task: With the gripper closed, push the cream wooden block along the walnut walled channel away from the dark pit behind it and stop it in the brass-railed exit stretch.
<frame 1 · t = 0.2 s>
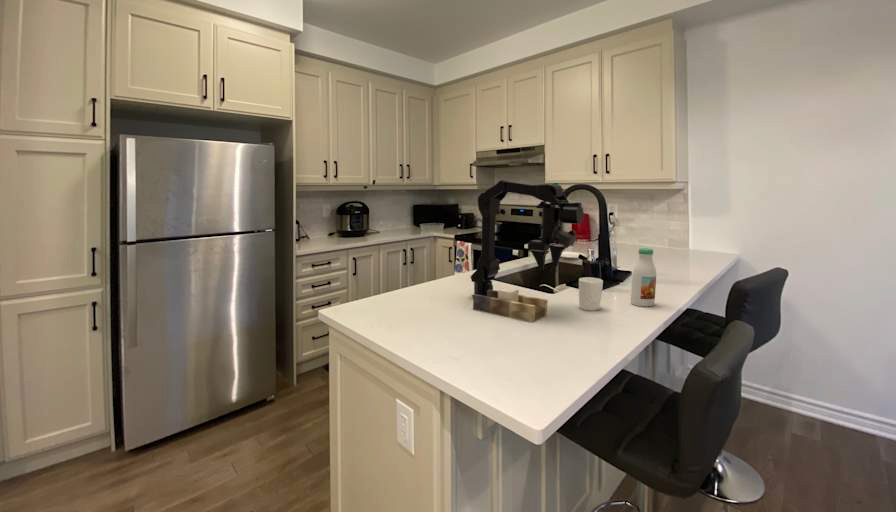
hand: (548, 268, 143), 14 cm above the counter, tool pointing down, fingers open, 9 cm apart
cream block: (508, 304, 142), point 2 cm above the counter, touching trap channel
milk bottle: (642, 304, 150), on the counter
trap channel: (509, 311, 142), on the counter
white cup: (589, 308, 146), on the counter
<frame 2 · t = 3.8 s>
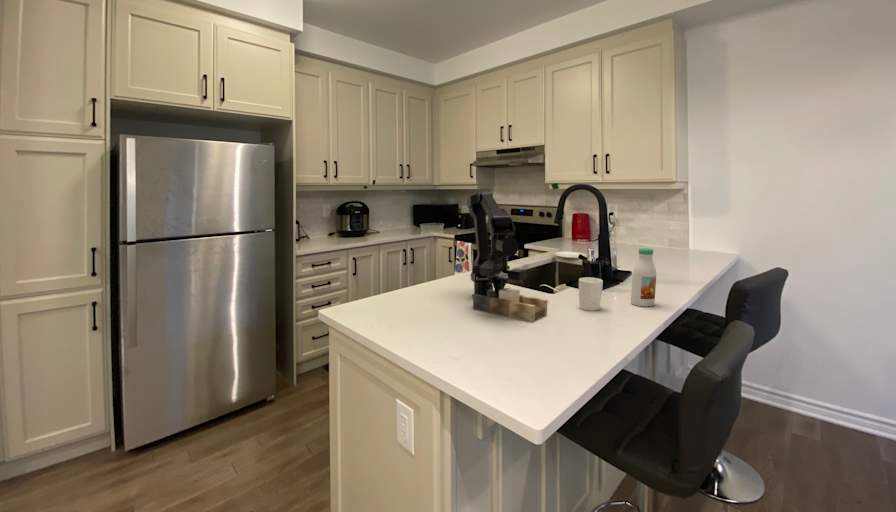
hand: (498, 296, 144), 5 cm above the counter, tool pointing down, fingers closed
cream block: (509, 304, 142), point 3 cm above the counter, touching gripper
everything else where it was.
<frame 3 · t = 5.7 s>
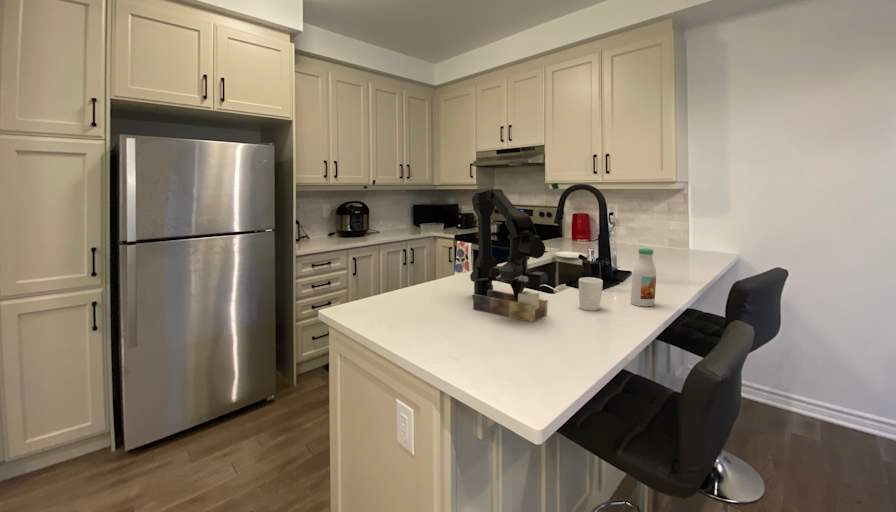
hand: (517, 299, 140), 5 cm above the counter, tool pointing down, fingers closed
cream block: (528, 308, 138), point 2 cm above the counter, touching gripper, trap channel
everything else where it was.
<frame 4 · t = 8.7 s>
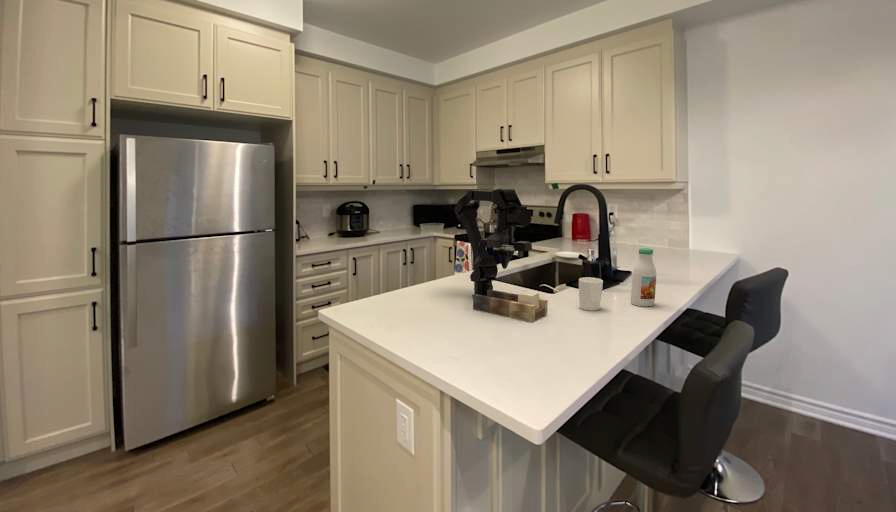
hand: (504, 268, 150), 13 cm above the counter, tool pointing down, fingers closed
cream block: (528, 308, 138), point 2 cm above the counter, touching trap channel
everything else where it was.
at the end: cream block 0.0 cm from the target spot on the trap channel, point 2.5 cm above the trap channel's base; cream block tilted 0° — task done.
